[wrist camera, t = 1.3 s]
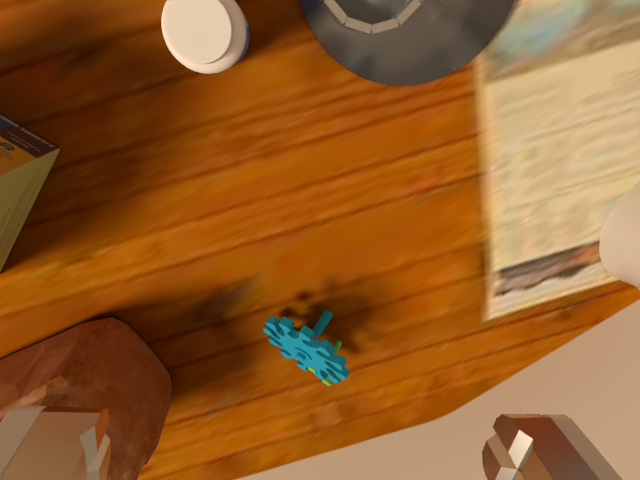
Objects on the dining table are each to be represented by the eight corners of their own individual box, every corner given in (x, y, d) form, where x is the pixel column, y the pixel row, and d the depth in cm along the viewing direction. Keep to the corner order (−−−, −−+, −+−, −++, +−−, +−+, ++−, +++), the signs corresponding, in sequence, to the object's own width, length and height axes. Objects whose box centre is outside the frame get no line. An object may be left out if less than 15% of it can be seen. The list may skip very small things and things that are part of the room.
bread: (186, 389, 49) (150, 529, 35) (-1, 465, 51) (-105, 626, 37) (115, 301, 43) (37, 428, 29) (-92, 393, 45) (-258, 551, 31)
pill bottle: (214, 82, 35) (194, 96, 26) (167, 24, 33) (127, 18, 24) (264, 39, 34) (261, 39, 25) (219, -23, 32) (198, -49, 23)
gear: (243, 317, 42) (319, 343, 36) (276, 274, 45) (351, 292, 39) (288, 374, 49) (359, 405, 42) (314, 334, 52) (384, 357, 45)
